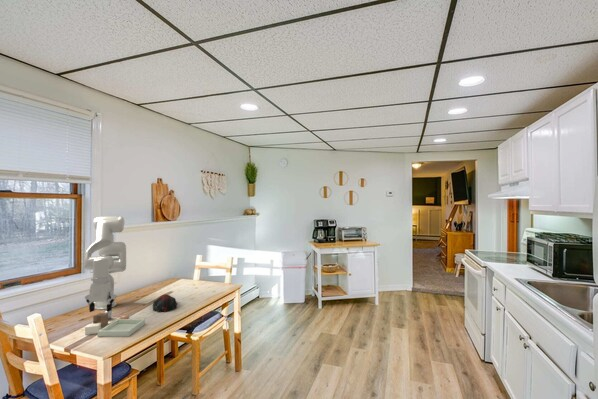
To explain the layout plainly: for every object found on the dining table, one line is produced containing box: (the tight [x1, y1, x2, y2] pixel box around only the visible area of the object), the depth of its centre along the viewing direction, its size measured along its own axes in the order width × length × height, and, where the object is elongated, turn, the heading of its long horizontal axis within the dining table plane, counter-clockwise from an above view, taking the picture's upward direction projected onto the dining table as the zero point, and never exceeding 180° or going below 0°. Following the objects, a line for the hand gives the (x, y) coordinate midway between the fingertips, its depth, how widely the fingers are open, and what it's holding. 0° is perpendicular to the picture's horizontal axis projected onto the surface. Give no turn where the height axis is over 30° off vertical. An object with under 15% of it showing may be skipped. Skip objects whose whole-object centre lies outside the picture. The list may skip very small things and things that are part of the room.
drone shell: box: [152, 294, 178, 313], centre depth 197 cm, size 21×20×8 cm
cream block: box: [84, 323, 102, 336], centre depth 157 cm, size 6×4×4 cm, turn 109°
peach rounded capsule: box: [119, 314, 130, 319], centre depth 172 cm, size 4×4×3 cm
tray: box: [97, 318, 146, 337], centre depth 160 cm, size 16×16×3 cm
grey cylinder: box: [103, 309, 113, 321], centre depth 176 cm, size 4×4×5 cm
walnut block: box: [92, 312, 109, 328], centre depth 167 cm, size 5×5×6 cm
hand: (100, 311), depth 166 cm, fingers open, 9 cm apart
